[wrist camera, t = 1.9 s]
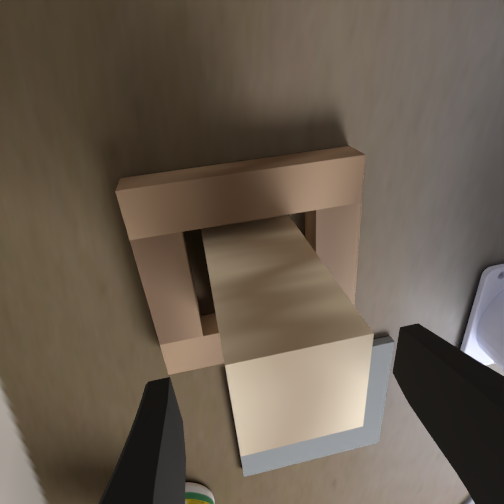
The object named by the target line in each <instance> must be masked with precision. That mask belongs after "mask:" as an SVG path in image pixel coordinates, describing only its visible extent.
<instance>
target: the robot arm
mask: <svg viewBox="0 0 504 504" xmlns="http://www.w3.org/2000/svg"><path fill="white" fill-rule="evenodd" d="M493 363H496V364H497V365H498V366H499V367H500V368H501V369H502V370H503V371H504V264H500V265H495V266H491V267H488V268H487V269H485V270H484V271H483V273H482V276H481V279H480V283H479V286H478V290H477V293H476V297H475V300H474V304H473V307H472V311H471V314H470V318H469V321H468V325H467V328H466V332H465V335H464V339H463V342H462V346H461V349H458V348H456V347H455V346H453V345H452V344H450V343H448V342H447V341H445V340H444V339H442V338H441V337H439V336H437V335H436V334H434V333H433V332H431V331H429V330H428V329H426V328H425V327H423V326H421V325H419V324H414V325H409V326H404V327H400V331H399V337H398V343H397V349H396V355H395V361H394V367H393V374H394V376H395V378H396V380H397V382H398V384H399V386H400V388H401V390H402V392H403V394H404V395H405V397H406V399H407V401H408V403H409V404H410V406H411V407H412V409H413V410H414V412H415V413H416V415H417V416H418V418H419V419H420V421H421V422H422V424H423V425H424V426H425V428H426V429H427V431H428V432H429V434H430V435H431V437H432V438H433V439H434V441H435V442H436V444H437V445H438V447H439V448H440V450H441V451H442V452H443V454H444V455H445V457H446V458H447V460H448V461H449V463H450V464H451V466H452V467H453V468H454V470H455V471H456V473H457V474H458V476H459V478H460V479H461V481H462V482H463V484H464V485H465V487H466V488H467V490H468V492H469V494H470V495H471V497H472V499H473V501H474V502H475V504H504V376H502V375H501V374H499V373H497V372H496V371H494V370H492V369H490V368H489V367H487V366H485V365H489V364H493ZM185 472H186V455H185V442H184V430H183V421H182V417H181V414H180V410H179V407H178V403H177V400H176V396H175V393H174V390H173V386H172V383H171V379H170V377H168V378H163V379H159V380H154V381H149V382H148V383H147V384H146V385H145V389H144V393H143V396H142V399H141V402H140V405H139V408H138V411H137V414H136V417H135V420H134V422H133V425H132V428H131V431H130V433H129V436H128V438H127V441H126V443H125V446H124V448H123V450H122V453H121V455H120V458H119V460H118V463H117V465H116V467H115V469H114V471H113V474H112V476H111V478H110V480H109V482H108V484H107V487H106V489H105V491H104V493H103V495H102V498H101V500H100V502H99V504H185Z"/></svg>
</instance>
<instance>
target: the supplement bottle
mask: <svg viewBox="0 0 504 504" xmlns="http://www.w3.org/2000/svg"><path fill="white" fill-rule="evenodd" d="M185 504H215V502H214V497H213V494H212V493H211V491H210V490H209V489H208V488H206V487H205V486H202V485H200V484H197V483H190V482H185Z"/></svg>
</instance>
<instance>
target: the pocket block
mask: <svg viewBox="0 0 504 504" xmlns="http://www.w3.org/2000/svg"><path fill="white" fill-rule="evenodd" d="M364 169H365V154H363V153H361V152H359V151H358V150H356V149H354V148H352V147H350V146H345V147H338V148H331V149H323V150H316V151H309V152H302V153H295V154H288V155H281V156H274V157H267V158H260V159H252V160H245V161H238V162H231V163H224V164H217V165H210V166H203V167H196V168H188V169H181V170H174V171H167V172H160V173H153V174H146V175H139V176H132V177H125V178H120V180H119V182H118V185H117V188H116V190H115V192H116V195H117V199H118V202H119V206H120V209H121V213H122V216H123V220H124V223H125V226H126V230H127V233H128V237H129V240H130V244H131V247H132V250H133V254H134V257H135V261H136V264H137V268H138V271H139V275H140V278H141V281H142V285H143V288H144V292H145V295H146V299H147V302H148V305H149V309H150V312H151V316H152V319H153V323H154V326H155V329H156V333H157V336H158V340H159V343H160V347H161V350H162V354H163V357H164V360H165V364H166V367H167V371H168V374H169V375H170V374H175V373H180V372H184V371H189V370H194V369H198V368H203V367H208V366H213V365H217V364H222V363H224V358H223V352H222V347H221V341H220V335H219V330H218V324H217V318H216V313H213V314H208V315H203V316H201V314H200V309H199V304H198V300H197V295H196V290H195V285H194V280H193V275H192V270H191V265H190V260H189V255H188V250H187V245H186V240H185V235H184V231H190V230H196V229H202V228H208V227H215V226H221V225H227V224H233V223H239V222H245V221H251V220H258V219H264V218H270V217H276V216H282V215H288V214H294V213H301V212H305V238H306V240H307V241H308V242H309V244H310V245H311V247H312V248H313V249H314V251H315V252H316V254H317V255H318V256H319V258H320V259H321V261H322V262H323V263H324V265H325V266H326V268H327V269H328V270H329V272H330V273H331V275H332V276H333V277H334V279H335V280H336V281H337V283H338V284H339V286H340V287H341V288H342V290H343V291H344V293H345V294H346V295H347V297H348V298H349V300H350V301H351V302H352V304H353V305H354V302H355V289H356V275H357V262H358V249H359V235H360V222H361V209H362V195H363V182H364Z"/></svg>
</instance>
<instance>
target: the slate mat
mask: <svg viewBox="0 0 504 504" xmlns="http://www.w3.org/2000/svg"><path fill="white" fill-rule="evenodd" d="M393 348H394V340H393V339H392V338H391V337H390V336H388V337H383V338H378V339H374V340H373V345H372V354H371V362H370V371H369V380H368V388H367V397H366V405H365V414H364V423H363V426H362V427H358V428H354V429H350V430H346V431H342V432H338V433H334V434H330V435H326V436H322V437H318V438H314V439H310V440H306V441H302V442H298V443H294V444H290V445H286V446H282V447H278V448H274V449H270V450H266V451H262V452H258V453H254V454H250V455H245V456H241V454H240V456H241V462H242V468H243V473H244V477H246V476H249V475H253V474H257V473H261V472H265V471H269V470H273V469H277V468H281V467H285V466H289V465H293V464H297V463H301V462H305V461H308V460H312V459H316V458H320V457H324V456H328V455H332V454H336V453H340V452H344V451H348V450H352V449H356V448H360V447H364V446H367V445H371V444H375V443H379V438H380V431H381V425H382V419H383V412H384V406H385V399H386V393H387V387H388V380H389V374H390V368H391V361H392V355H393ZM226 376H227V375H226ZM227 382H228V381H227ZM228 387H229V386H228ZM229 393H230V392H229ZM230 399H231V398H230ZM231 405H232V403H231ZM232 410H233V409H232ZM233 416H234V415H233ZM234 422H235V420H234ZM235 428H236V426H235ZM236 433H237V432H236ZM237 439H238V437H237ZM238 445H239V443H238ZM239 451H240V449H239Z"/></svg>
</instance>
